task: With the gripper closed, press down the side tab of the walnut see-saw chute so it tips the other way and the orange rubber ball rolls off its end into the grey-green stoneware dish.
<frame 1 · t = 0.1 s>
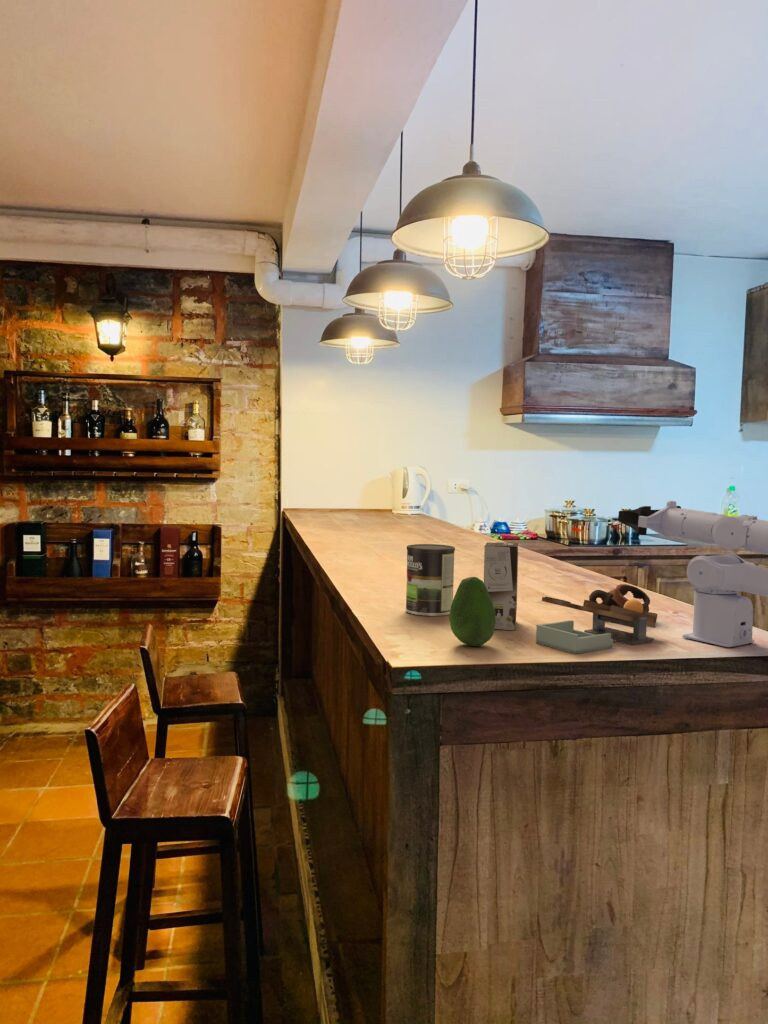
hand: (632, 515, 152), 22 cm above the table, tool horizontal, fingers open, 7 cm apart
avocado: (471, 646, 129), on the table
ball: (633, 608, 139), point 5 cm above the table, tilted 10°, touching lever
coffee can: (429, 612, 160), on the table
lever: (599, 609, 139), point 5 cm above the table, hinge at 15.0°, touching ball
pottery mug: (617, 620, 155), on the table
fulcrum: (618, 637, 138), on the table
coffee box: (499, 626, 147), on the table
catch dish: (574, 645, 131), on the table
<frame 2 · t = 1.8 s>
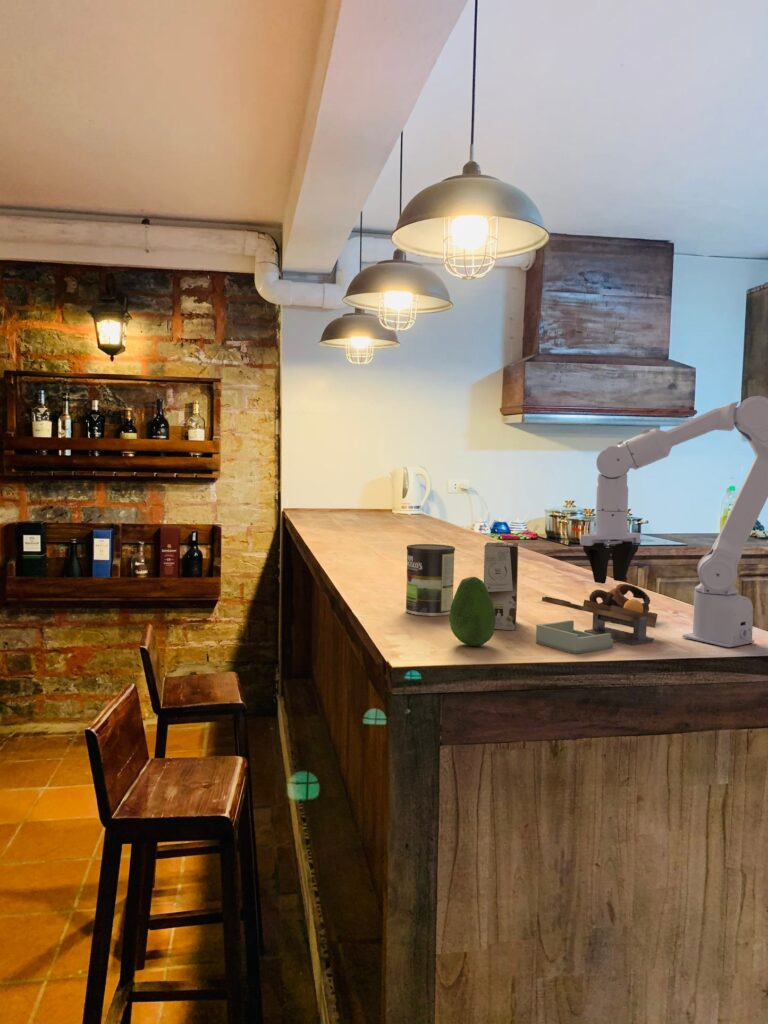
hand: (609, 581, 143), 9 cm above the table, tool pointing down, fingers open, 5 cm apart
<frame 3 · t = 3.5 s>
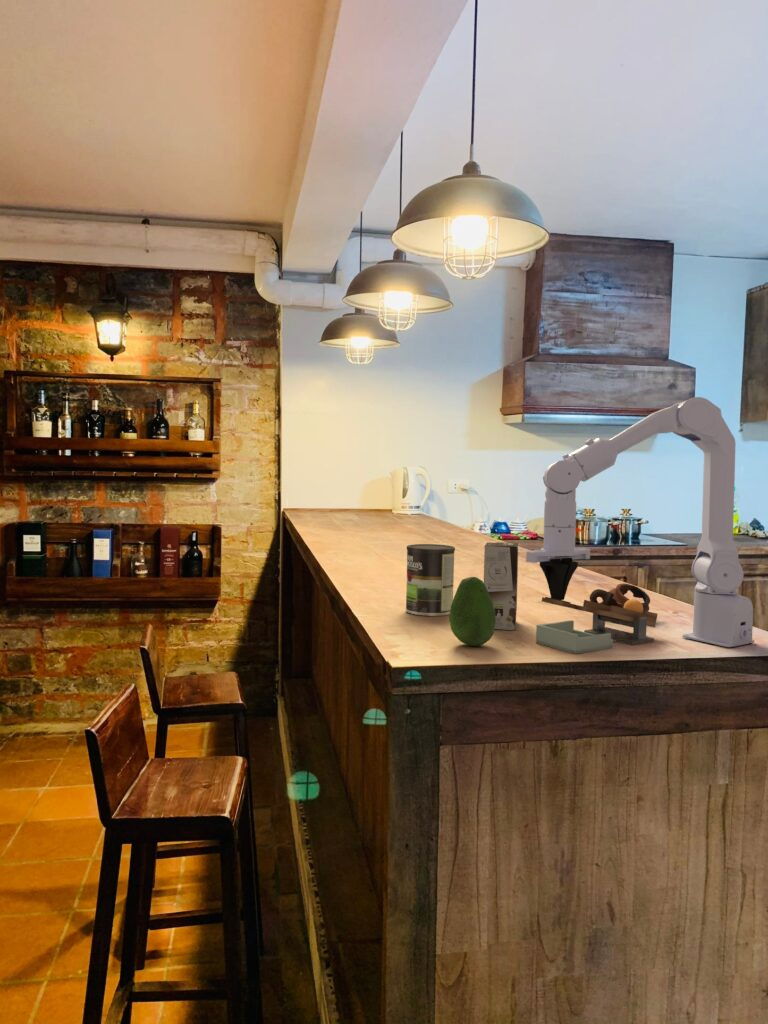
hand: (557, 599, 139), 7 cm above the table, tool pointing down, fingers closed
lever: (599, 609, 139), point 5 cm above the table, hinge at 14.5°, touching ball, gripper
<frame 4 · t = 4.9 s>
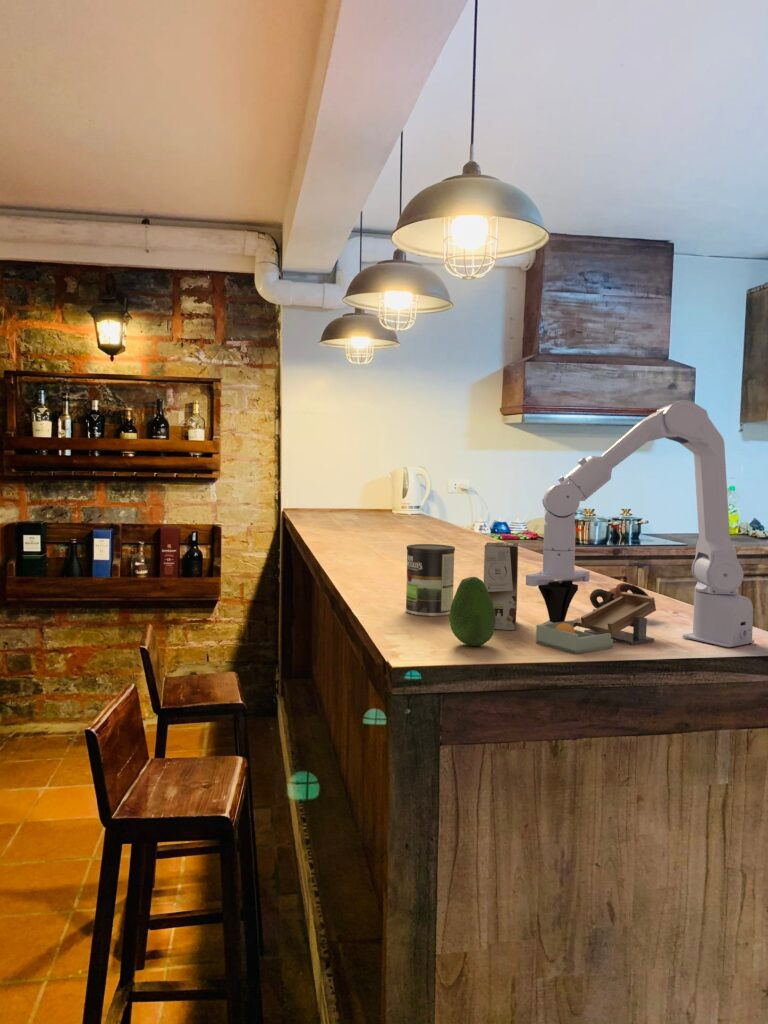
hand: (557, 622, 140), 2 cm above the table, tool pointing down, fingers closed
ball: (564, 633, 130), point 2 cm above the table, tilted 95°, touching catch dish
lever: (598, 615, 139), point 4 cm above the table, hinge at -15.9°, touching gripper
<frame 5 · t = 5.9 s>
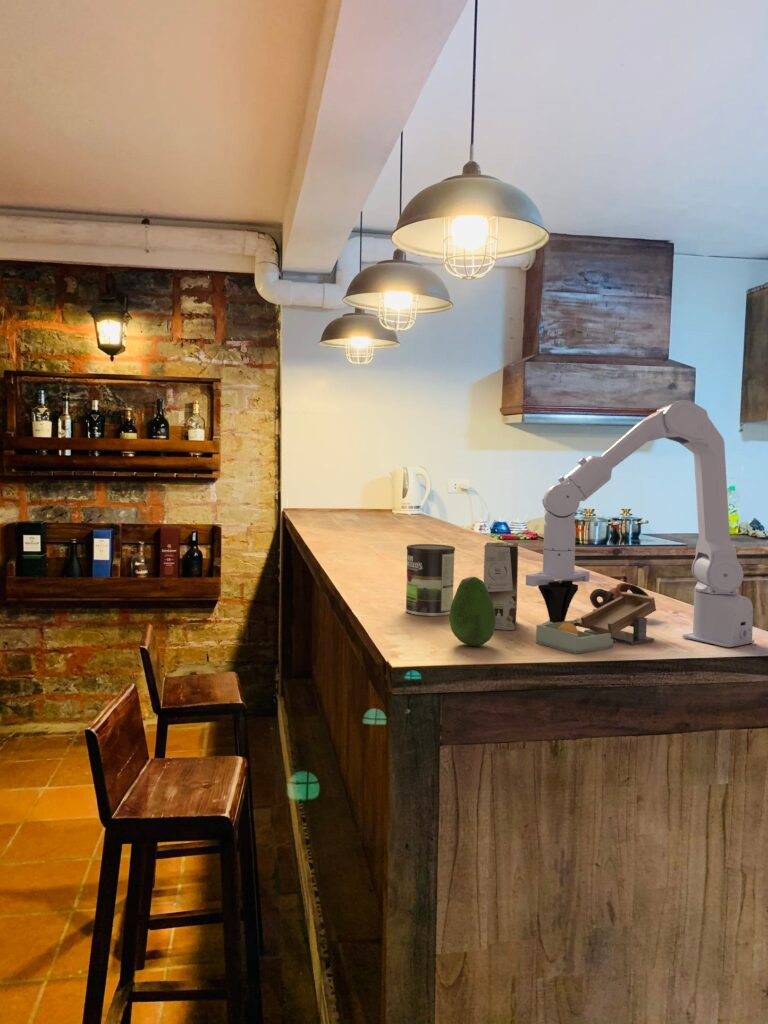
hand: (557, 622, 140), 2 cm above the table, tool pointing down, fingers closed
ball: (567, 632, 130), point 2 cm above the table, tilted 116°, touching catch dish
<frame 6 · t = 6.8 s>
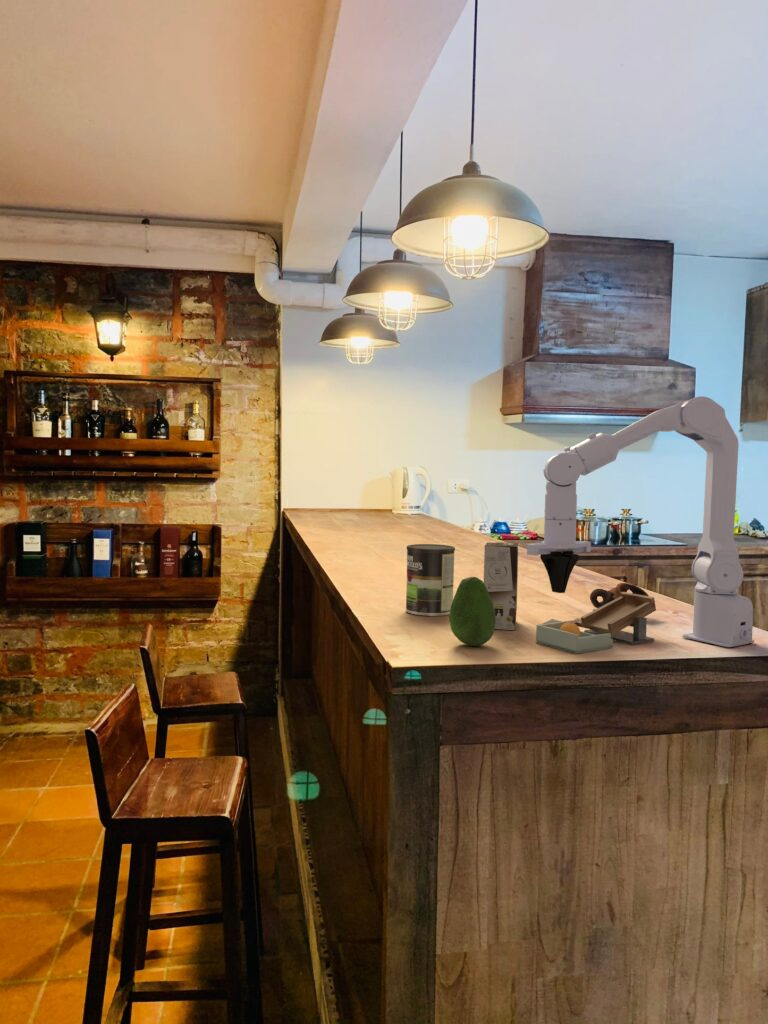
hand: (558, 592, 139), 8 cm above the table, tool pointing down, fingers closed
ball: (569, 632, 131), point 2 cm above the table, tilted 136°, touching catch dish
lever: (598, 615, 139), point 4 cm above the table, hinge at -16.0°
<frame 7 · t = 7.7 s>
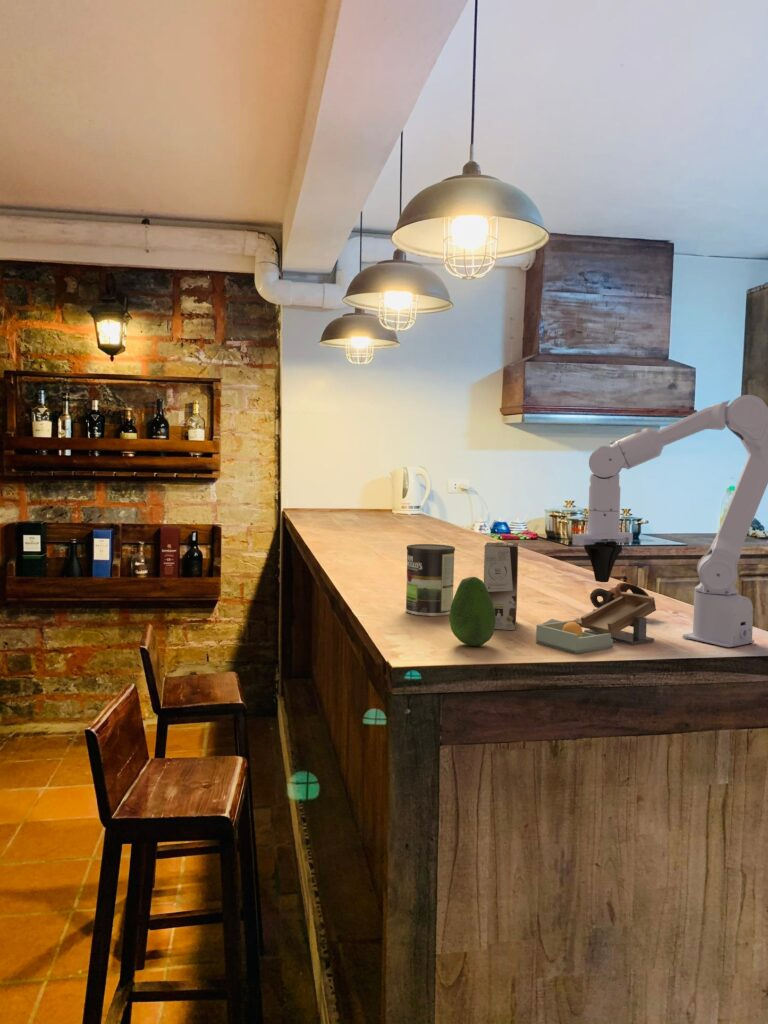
hand: (601, 581, 143), 9 cm above the table, tool pointing down, fingers closed
ball: (572, 632, 131), point 2 cm above the table, tilted 155°, touching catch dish
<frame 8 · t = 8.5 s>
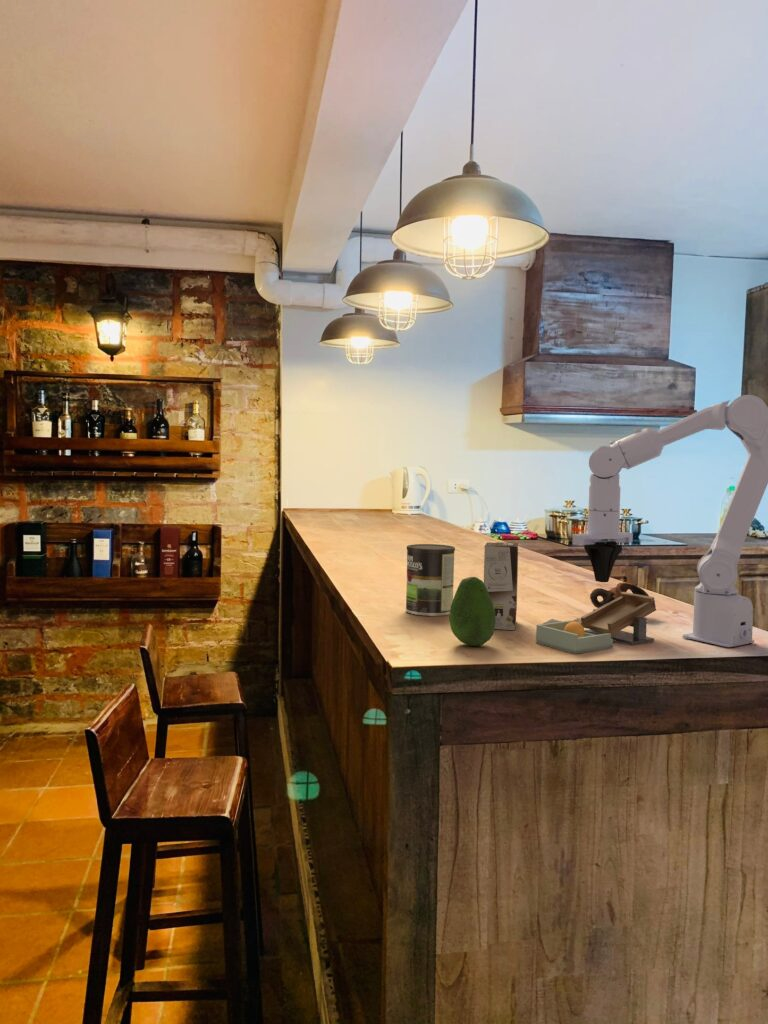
hand: (601, 581, 143), 9 cm above the table, tool pointing down, fingers closed
ball: (574, 631, 131), point 2 cm above the table, tilted 172°, touching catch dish
at the end: ball inside the target area on the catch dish (0.8 cm from its centre), point 2.2 cm above the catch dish's base; lever at -16° (first picture: +15°) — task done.
